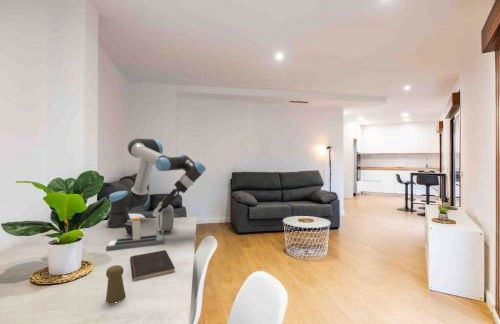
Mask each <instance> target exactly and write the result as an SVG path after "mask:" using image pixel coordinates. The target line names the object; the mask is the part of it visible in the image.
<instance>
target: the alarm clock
mask: <svg viewBox="0 0 500 324" xmlns="http://www.w3.org/2000/svg"><path fill="white" fill-rule="evenodd" d="M166 197H167V196H166ZM166 197H165V196H164V197H163V199H165V198H166ZM162 201H163V200H162ZM162 201H159V202H158V204H157V207H158V206H159V205H160V204H161V203H162ZM174 211H175V210H174V207H173V205H171V203H170V204H169V206H168V207H167V208H165V209H164V210H163V211H162V212H161V213H160V214H159V215H158V217H157V229H158V231H159V232H160V231H161V235H164V232H165V231H169V232H170V231H172V230H173V227H174V222H175V221H174V219H175V218H174V216H175V215H174V214H175V213H174Z"/></svg>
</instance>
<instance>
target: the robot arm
mask: <svg viewBox="0 0 500 324" xmlns="http://www.w3.org/2000/svg"><path fill="white" fill-rule="evenodd" d="M163 148H164V147H163V144H162V142H161V141H160V140H158V139H156V138H134V139H132V140H131V141H129V143H128V145H127V152H128V154H129V155H131V156H133V157H134V158H137V159H138V158H140V162H139V166H138V170H137V173H136V177H135V182H134V185H133V186H132V187H131V189H130V191H129V192H128V190H120V191H115V192H112V193H110V194H109V195H108V197H109V198H108V201H109V200H110V201H111V202H112V209H111V212H110V211H109V216H108V219H107V223H106V227H107V228H109V229H118V228H125V226H124V224H125V223H126V222H127V220H131V221H132V219H131V217H130V214H129V209H134V208H141V207H144V206H145V207H146V205H148V204H149V201H150V198H151V196H150V195H151V194H150V192H149V190H148V185H149V181H150V177H151V175H152V170H153V167H154V166H155V168H156V169H157V171H160V172H167V171H168V172H170V171H180V170H183V171H184V173H183V174H182V175H181V176H180V177H179V180H176V182H175V183H174V186H175V188H174V189H172V190H171V191H170V192H169V193H168V195H167V196H166V198H163V199H162V203H161V204H160V205H159V206H158V205H157V207H155V209H154V210H152V212H153V213H152V216H154V217H155V218H156V219H158V215H159V214H160V213H161V212H162V211H163V210H164V209H165V208H167V207H168V206H169V204H170V205H171V204H172V203H173V201H174V200H175V199H176V198H177V197H178V196H179V195H180V192H181V193H182V194H185V193H186V192H187V191H188V188H189V189H190V187H192V186H194V183H196V181H197V180H198V179H199V178H200V177H201V176H202V175H203V174H204V173H205V171H206V170H207V167H206V166H205V165H204V164H203V163H202V162H201V161H199V160H196V161H194V160H193V159H192V158H190V157H189V155H186V154H184V153H181V154H178V155H177V156H173V157H171V156H167V155H164V153H163V151H164V149H163ZM153 165H154V166H153Z"/></svg>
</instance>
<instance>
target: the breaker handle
mask: <svg viewBox="0 0 500 324" xmlns="http://www.w3.org/2000/svg"><path fill="white" fill-rule="evenodd" d="M131 221H132V229H133V236H132V237H133V241H134V240H140V239H141V235H142V234H140V232H141V216H138V217H137V216H136V217H132V219H131Z"/></svg>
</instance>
